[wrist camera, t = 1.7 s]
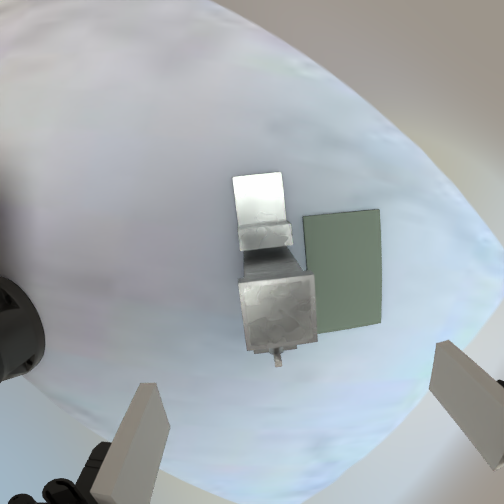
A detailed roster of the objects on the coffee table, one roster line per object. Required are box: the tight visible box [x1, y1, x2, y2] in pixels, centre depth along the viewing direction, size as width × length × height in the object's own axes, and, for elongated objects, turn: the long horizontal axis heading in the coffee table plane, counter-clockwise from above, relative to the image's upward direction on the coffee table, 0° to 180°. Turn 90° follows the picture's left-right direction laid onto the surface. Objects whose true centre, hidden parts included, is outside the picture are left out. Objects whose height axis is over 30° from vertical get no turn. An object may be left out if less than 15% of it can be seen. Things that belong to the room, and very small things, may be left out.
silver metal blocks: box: [233, 172, 297, 367], centre depth 33 cm, size 5×20×6 cm, turn 7°
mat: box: [303, 209, 382, 334], centre depth 36 cm, size 9×14×1 cm, turn 6°
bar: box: [238, 246, 318, 351], centre depth 29 cm, size 5×5×14 cm
